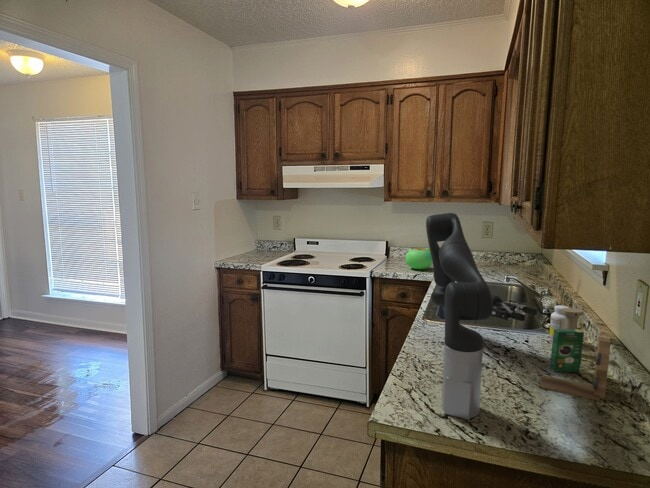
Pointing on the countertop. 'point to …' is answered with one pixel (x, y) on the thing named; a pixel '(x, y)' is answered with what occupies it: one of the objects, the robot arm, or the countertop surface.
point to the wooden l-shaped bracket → (580, 388)
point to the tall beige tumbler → (571, 317)
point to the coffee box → (566, 350)
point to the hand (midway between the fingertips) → (531, 315)
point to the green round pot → (419, 258)
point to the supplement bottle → (557, 320)
